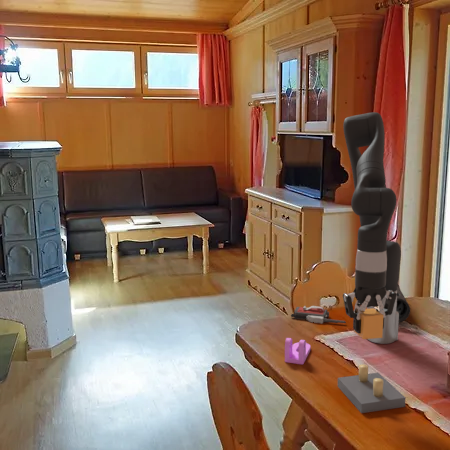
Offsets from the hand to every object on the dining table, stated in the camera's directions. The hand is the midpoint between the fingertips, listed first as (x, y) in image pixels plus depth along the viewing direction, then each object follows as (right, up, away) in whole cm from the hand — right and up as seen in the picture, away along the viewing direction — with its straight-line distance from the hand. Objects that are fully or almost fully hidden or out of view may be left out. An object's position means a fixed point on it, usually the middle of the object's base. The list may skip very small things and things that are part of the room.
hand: (368, 331), depth 135 cm
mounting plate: (+1, -18, +4) cm, 18 cm away
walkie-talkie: (-2, -8, +58) cm, 59 cm away
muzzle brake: (+26, -6, +64) cm, 69 cm away
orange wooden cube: (0, -1, 0) cm, 1 cm away
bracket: (-14, -13, +29) cm, 35 cm away
